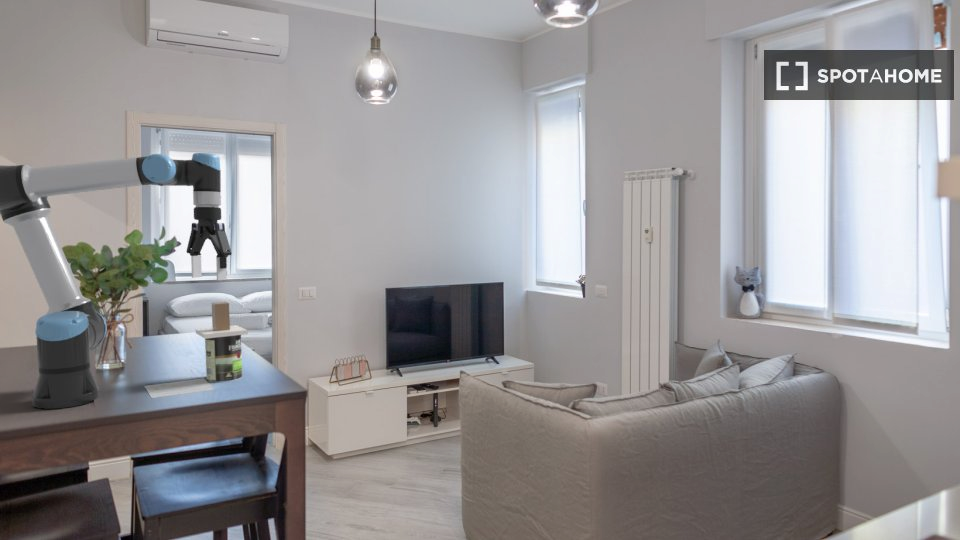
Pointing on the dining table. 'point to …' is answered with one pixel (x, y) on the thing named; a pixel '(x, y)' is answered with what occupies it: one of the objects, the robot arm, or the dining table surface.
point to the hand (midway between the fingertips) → (209, 278)
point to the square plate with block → (221, 323)
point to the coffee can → (223, 358)
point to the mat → (178, 388)
